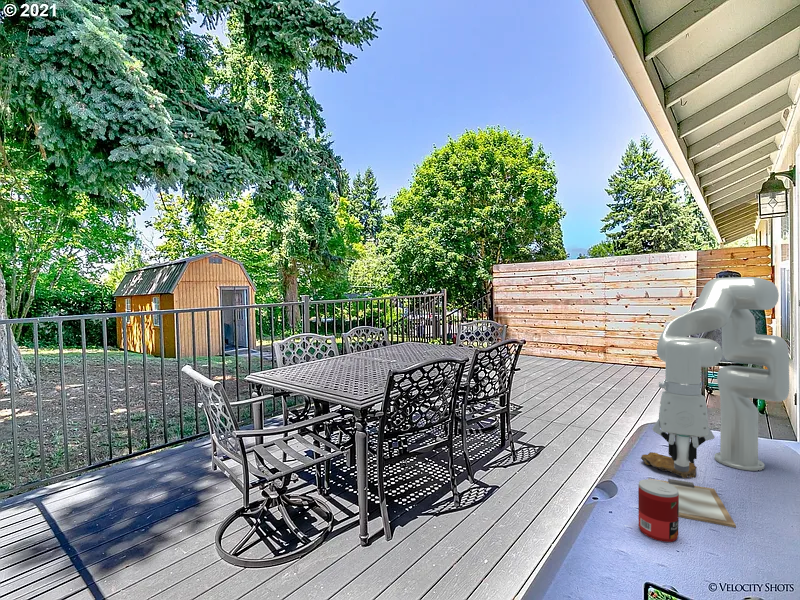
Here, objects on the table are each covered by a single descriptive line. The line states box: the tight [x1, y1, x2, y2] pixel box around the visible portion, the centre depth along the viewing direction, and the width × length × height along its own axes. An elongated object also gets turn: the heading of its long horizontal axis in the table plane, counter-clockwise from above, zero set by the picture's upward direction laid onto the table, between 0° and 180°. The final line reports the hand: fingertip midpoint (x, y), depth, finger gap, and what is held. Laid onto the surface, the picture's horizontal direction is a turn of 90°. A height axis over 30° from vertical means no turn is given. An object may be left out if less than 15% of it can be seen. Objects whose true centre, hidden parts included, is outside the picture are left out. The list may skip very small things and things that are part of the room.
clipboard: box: [647, 477, 737, 528], centre depth 111 cm, size 20×16×2 cm
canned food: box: [637, 478, 680, 543], centre depth 97 cm, size 8×8×11 cm
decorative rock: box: [640, 451, 698, 479], centre depth 131 cm, size 11×4×15 cm
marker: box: [674, 434, 691, 472], centre depth 106 cm, size 3×3×12 cm
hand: (682, 459), depth 106 cm, fingers closed on marker, 3 cm apart
